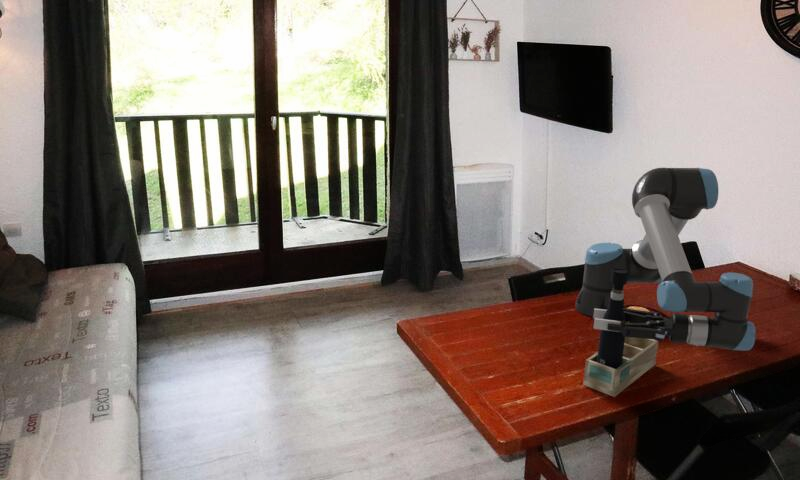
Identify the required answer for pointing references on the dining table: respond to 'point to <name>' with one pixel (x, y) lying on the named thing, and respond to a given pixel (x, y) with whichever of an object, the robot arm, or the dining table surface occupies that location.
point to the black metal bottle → (612, 340)
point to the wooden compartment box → (621, 367)
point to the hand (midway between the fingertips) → (594, 318)
